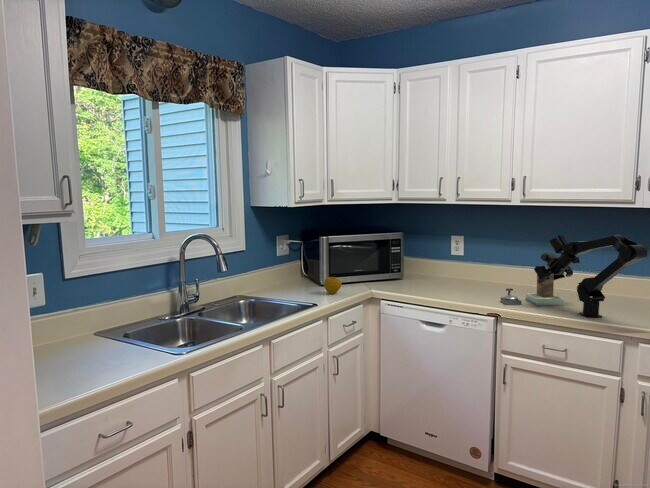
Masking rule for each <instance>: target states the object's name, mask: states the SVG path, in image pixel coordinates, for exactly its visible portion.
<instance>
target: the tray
mask: <svg viewBox="0 0 650 488" xmlns="http://www.w3.org/2000/svg"><path fill="white" fill-rule="evenodd" d="M525 300H526V301H527V302H530V303H532V304H533V305H535V306H537V307H540V306H543V307H549V306H550V307H551V306H552V307H553V306H554V307H557V306H559V307H561V306H562V307H564V303H565V298H562V297H560V296H558V295H556V294H554V293H553V297H547V298H544V297H540V296H537V292H536V293H528V292H527V293H525Z"/></svg>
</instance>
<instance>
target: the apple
mask: <svg viewBox="0 0 650 488" xmlns="http://www.w3.org/2000/svg"><path fill="white" fill-rule="evenodd" d="M323 287H324V289H325V291H326V292H327V293H328V295H335V294H337V293H338V292H339V291H340V289H341V287H342V281H341V279H340V278H339V277H336V276H329V277H326V278H325V279H324V280H323Z"/></svg>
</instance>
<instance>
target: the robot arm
mask: <svg viewBox="0 0 650 488" xmlns="http://www.w3.org/2000/svg"><path fill="white" fill-rule="evenodd" d="M548 243H549V245H550V247H551V248H552V249H553V251H554V253H556V254H560V255H559V256H557V255H555V254H554V253H553V252H544V253H542V254H541V255H540V259H541V260H542V261H544V262H545V263H547V264H546V265H547V267H545V265H543V264H541V265H535V266H534V268H533V270H534V272H535V273H536V276H537V275H538V277H539V279H538V282H539V283H541V282H543V281H546V280H548V279H550V278H549V276H550V275H551V274H554V281H556V280H560V279H564V278H565V277H566V278H571V277H572V276H573V275H574V271H573V269H572V268H571V264H573V265H574V264H580V262H581V261H580V256H577V255H586V254H588V253H590V252H591V251H593V250H598V249H603V248H609V247H613V248H614V249H615V251H616V252H618V255H617V258H615V260H614V261H612V262H611V263H610V264H609V265H607V266H606V267H605V268H604V269H602V270H601V271H600V272H599V273H597V274H596V275H595V276H594V277H593V276H592V277H584V278H583V279H582V281H580V282H578V283H577V284H578V285H577V287H576V291H577V296H578V299H579V302H582V303H583V304H582V312H581V311H579V313H578V314H579V315H582V316H584V317H586V318H603V315H601V314H600V313H599V312H600V303H601V302H604V301H605V299H606V296H605V295H604V294H603V292H602V290H603V287H604V286H605V284H607V283H608V282H609V281H610V280H612V279H613V278H614V277H616V276H617V275H618V274H620V273H621V272H622V271H623V270H624V269H626V268H627V267H628V266H631V265H633V264H634V265H635V264H636V263H638V262H640V261H642V260H644V259H646V258H647V257H648V249H647V248H646V247H645V246H644V245H643V244H639V243H638V242H636V241H634V240H631V239H629V238H627V237H625V236H624V235H622V234H615V235H614V234H612V235H611V236H605V237H601V238H597V239H591V240H581V241H580V240H578V241H570V242H569V243H568V241H567V240H566V238H565V237H564V235H563V234H558V235H557V236H555V237H553V238H551V239H550V240H549V241H548ZM546 268H547V269H546Z"/></svg>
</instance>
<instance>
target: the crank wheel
mask: <svg viewBox="0 0 650 488" xmlns="http://www.w3.org/2000/svg"><path fill="white" fill-rule="evenodd" d="M505 291H507V295H504V296H503V297H504V299H507V300H518V299H519V297H518V296H515V295H512V294H511V292H512V291H514V289H513V288H505Z"/></svg>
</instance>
